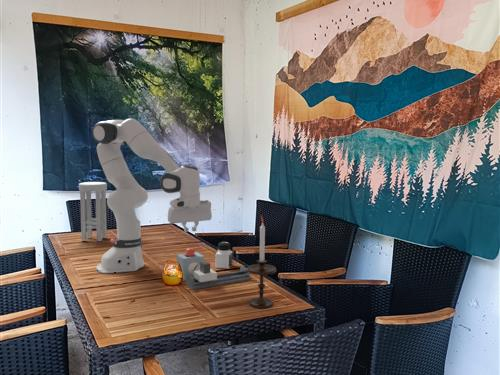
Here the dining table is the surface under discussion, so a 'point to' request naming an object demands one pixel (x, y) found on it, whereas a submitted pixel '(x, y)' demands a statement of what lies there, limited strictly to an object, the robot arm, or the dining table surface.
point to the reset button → (190, 252)
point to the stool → (100, 212)
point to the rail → (219, 279)
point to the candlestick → (261, 273)
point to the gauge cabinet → (189, 263)
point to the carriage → (205, 273)
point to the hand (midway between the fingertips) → (190, 231)
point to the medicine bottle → (224, 256)
